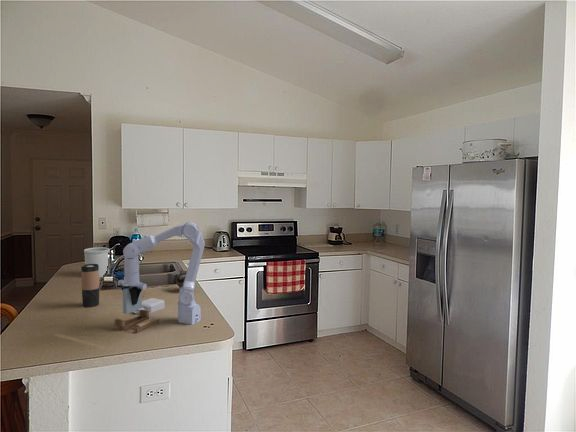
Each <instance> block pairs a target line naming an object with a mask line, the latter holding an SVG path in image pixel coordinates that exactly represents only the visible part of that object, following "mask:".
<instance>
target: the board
mask: <svg viewBox="0 0 576 432" xmlns="http://www.w3.org/2000/svg"><path fill="white" fill-rule="evenodd" d="M131 288H133V287H129V288H125V289H123V291H122V312H123V314H125V315H126V314H130V313H134V312H133V311H135V310H138V309H141V308H142V301H143V300H142V298H143V297H142V295H143V294H142V291H143V290H142V291H141V293H140V295H139V298H138V302H137V304H135V305H132V301H131V294H130V291H129V289H131Z"/></svg>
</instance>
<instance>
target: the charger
mask: <svg viewBox="0 0 576 432" xmlns="http://www.w3.org/2000/svg"><path fill="white" fill-rule="evenodd" d="M165 304H166V302H165V300H164V299H160V298H156V297H150V298H148V299H144V300H142V308H141V309H142V310H147V311H149V314H151V313H154V312H157V311H159V310H161V311H163V310H165V307H166V305H165ZM141 309H138V310H135V311H133V312H132V313H134V314H136V315H140V310H141Z"/></svg>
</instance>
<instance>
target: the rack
mask: <svg viewBox="0 0 576 432" xmlns="http://www.w3.org/2000/svg"><path fill="white" fill-rule="evenodd" d="M148 319H150V313H149V311H147V310H142V309H141V310H140V314H139V315H137V316H135V317H132V318H130V319H129V318H128V319H127V320H125V319H121V318H115V319H114V328H113V329H114V330H118V331H122V332H127V333H129V334H133V335H135V334H138V333H141V332H143V331H145V330H146V329H149V328H152V327H155V326H157V325H158V324H161V322H160V319H156V320H153V322H151V323H149V324H146V325H144V326H142V327H139V328H137V329H136V330H134V327H135V325H136V324H138V323H140V322H143V321H145V320H148Z"/></svg>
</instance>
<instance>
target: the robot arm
mask: <svg viewBox="0 0 576 432" xmlns="http://www.w3.org/2000/svg"><path fill="white" fill-rule="evenodd" d="M183 236H184V237H185V238H186V239H188V240H189V241H190V243H191V244H192V245H193V247H192V249H191V250H192V251H191V254H190V258H189V262H188V265H187V266H188V267H187V269H186V271H187V273H186V277H185V280H184V283H183V286H182V287H181V288H180V287H179V291H178V301H177V322H178V323H180V324H187V325H191V326H192V325H195V324H196V323H198V322H199V323H200V321H202V315H201V314H202V309H201V308H202V307H201V305H200V304H198V303H196V300H195V293H194V291H195V284H196V281H197V276H198V272H199V268H200V265H201V261H202V257H203V253H204V249H205V245H206V244H205V243H206V242H205V239H204V237H203V234H202V232H201V229H200V227H199V226H198V225H197V224H196V223H195V222H194V221H187V222H185V223H181V224H178V225H175V226H173V227H171V228H168V229H167V230H164V231H162V232H160V233H159V234H157V235H151V234H149V235H148V234H145V235H144V236H143V237H142V238H140V239H137V240H133V241H132V242H130V243H128V244H127V245H126V246H125V247H124V248H123V250H122V253H123V256H124V259H123V260H124V262H123V264H124V267H123V269H124V272H123V273H124V279H120V280H117V286H123V287H121V291H122V292H123V289H125V288H129V287H133V288H131V289H129V291H130V294H131V301H132V305H135V304H137V302H138V298H139V295H140V293H141V291H143V290H146V289H147V288H148V285H147V283H145V282H142V281H141V280H140V260H139V254H144V253H146V252H148V251H151V250H152V249H154V248H156V247H157V245H158V243H161V242H163V241H166V240H168V239H170V238H174V237H182V238H183Z"/></svg>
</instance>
